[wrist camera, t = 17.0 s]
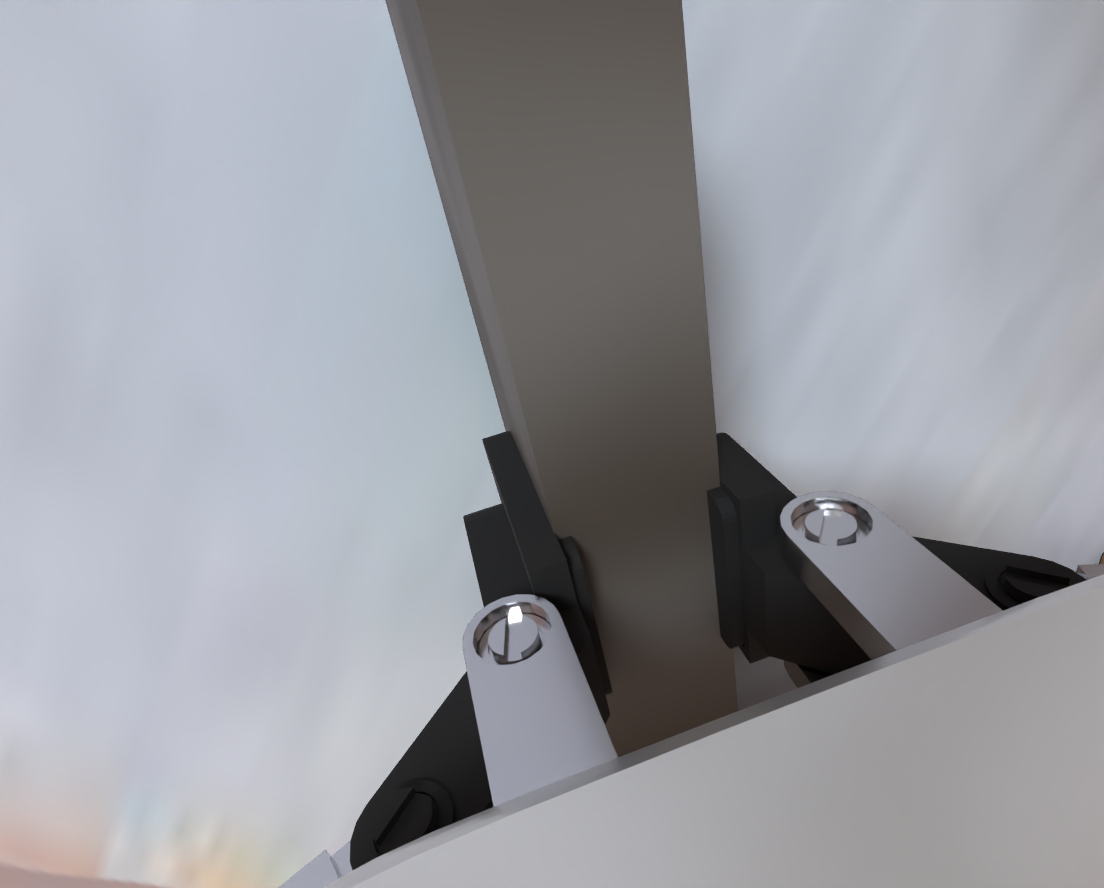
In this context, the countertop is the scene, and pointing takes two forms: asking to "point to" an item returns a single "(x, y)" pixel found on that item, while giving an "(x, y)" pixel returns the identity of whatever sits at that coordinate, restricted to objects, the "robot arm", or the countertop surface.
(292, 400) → the countertop surface
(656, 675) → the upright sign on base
